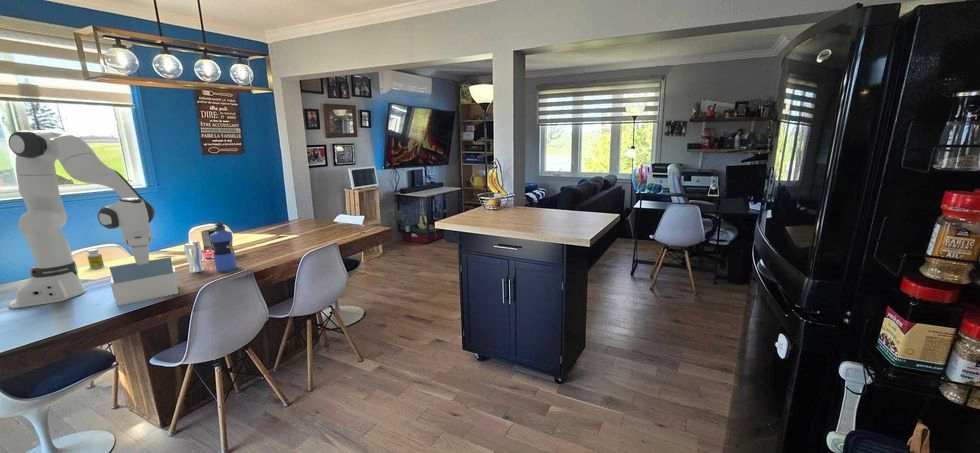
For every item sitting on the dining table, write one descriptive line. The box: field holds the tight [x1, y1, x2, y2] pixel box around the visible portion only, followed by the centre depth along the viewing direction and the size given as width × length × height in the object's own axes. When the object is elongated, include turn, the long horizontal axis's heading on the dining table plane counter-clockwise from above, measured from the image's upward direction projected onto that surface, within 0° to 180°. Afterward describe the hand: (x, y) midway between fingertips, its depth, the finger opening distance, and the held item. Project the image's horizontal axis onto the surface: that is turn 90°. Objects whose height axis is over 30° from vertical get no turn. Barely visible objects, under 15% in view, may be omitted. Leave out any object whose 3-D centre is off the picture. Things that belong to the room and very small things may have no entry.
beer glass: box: [183, 240, 205, 274], centre depth 207 cm, size 7×7×15 cm
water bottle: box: [210, 221, 238, 273], centre depth 207 cm, size 9×9×25 cm
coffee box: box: [200, 227, 216, 251], centre depth 232 cm, size 9×6×16 cm
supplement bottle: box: [87, 248, 105, 269], centre depth 216 cm, size 5×5×10 cm
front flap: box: [108, 256, 173, 284], centre depth 166 cm, size 19×9×1 cm
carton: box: [110, 264, 180, 307], centre depth 175 cm, size 21×14×10 cm
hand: (143, 269), depth 167 cm, fingers closed
